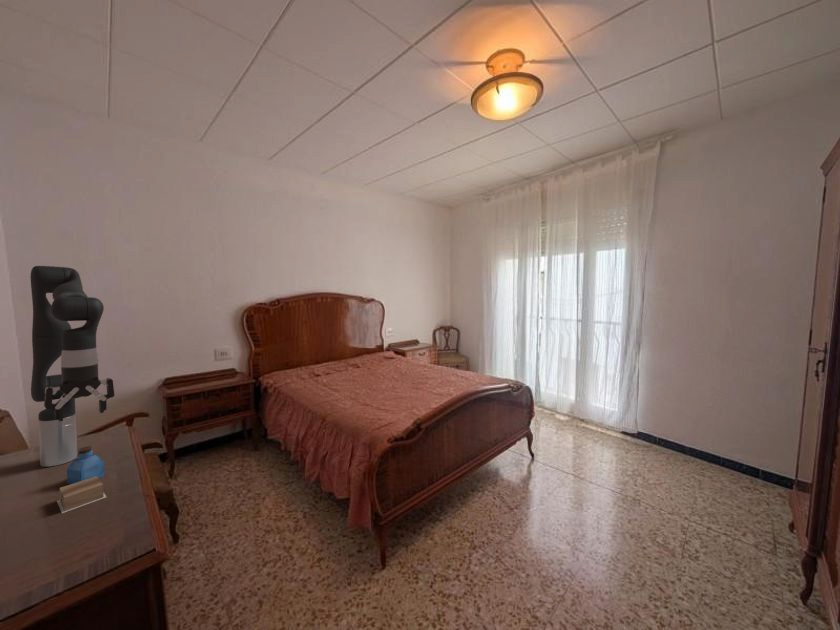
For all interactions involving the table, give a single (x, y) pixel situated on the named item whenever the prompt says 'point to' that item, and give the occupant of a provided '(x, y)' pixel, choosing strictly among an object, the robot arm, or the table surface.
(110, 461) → the table surface
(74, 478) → the perfume bottle
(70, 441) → the robot arm
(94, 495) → the walnut block
